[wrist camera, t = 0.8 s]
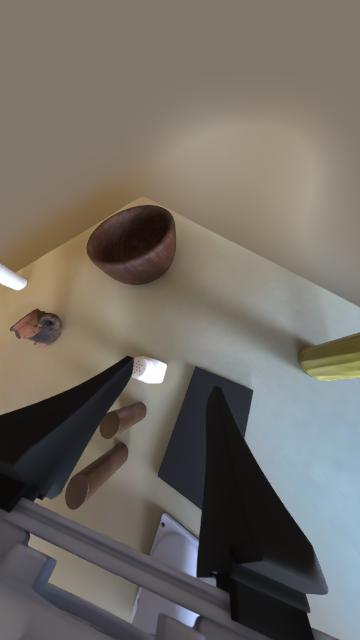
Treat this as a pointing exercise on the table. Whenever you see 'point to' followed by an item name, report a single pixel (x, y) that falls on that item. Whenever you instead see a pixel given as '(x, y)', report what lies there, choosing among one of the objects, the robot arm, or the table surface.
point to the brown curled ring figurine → (33, 332)
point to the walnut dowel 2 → (121, 419)
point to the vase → (333, 359)
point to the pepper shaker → (148, 369)
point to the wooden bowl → (134, 244)
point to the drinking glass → (11, 278)
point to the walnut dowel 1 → (94, 476)
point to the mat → (199, 433)
